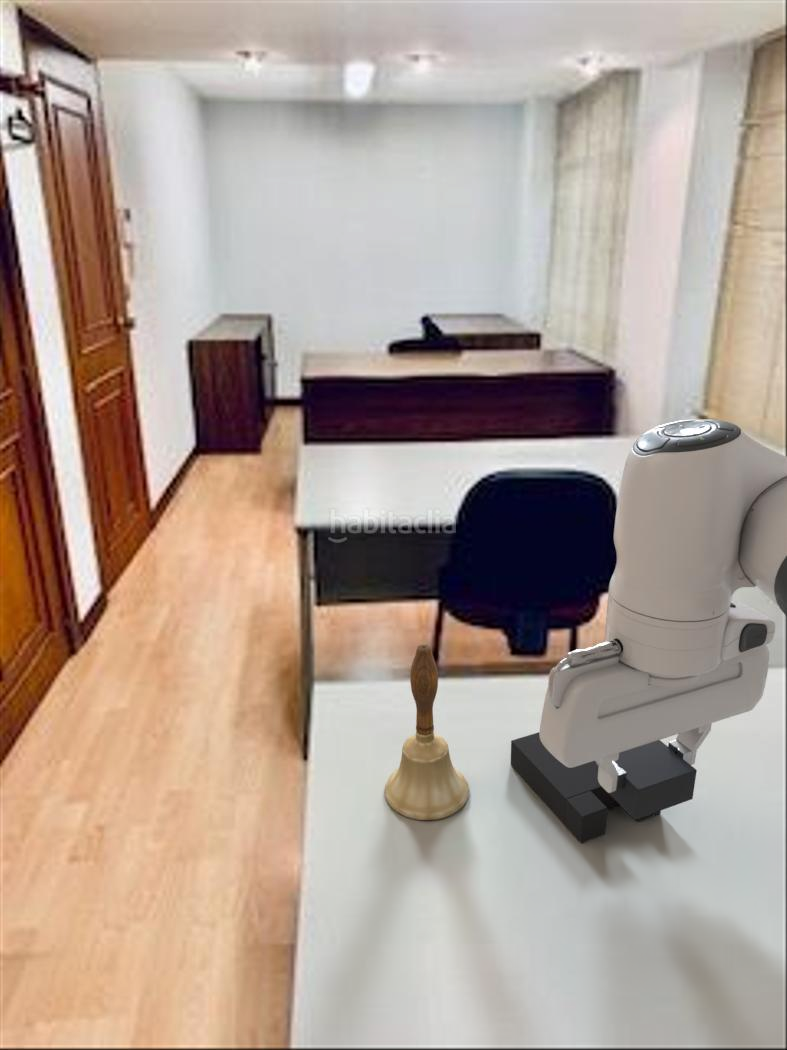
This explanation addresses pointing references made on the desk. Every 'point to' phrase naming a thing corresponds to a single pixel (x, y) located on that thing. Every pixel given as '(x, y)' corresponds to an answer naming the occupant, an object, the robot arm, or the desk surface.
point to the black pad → (565, 788)
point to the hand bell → (425, 756)
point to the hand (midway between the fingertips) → (646, 774)
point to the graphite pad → (653, 779)
